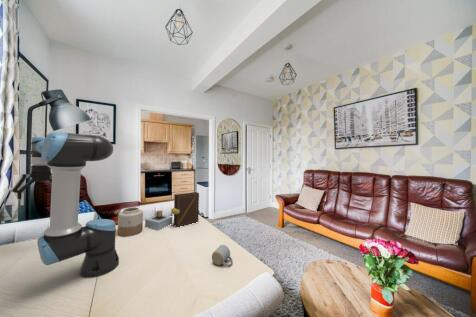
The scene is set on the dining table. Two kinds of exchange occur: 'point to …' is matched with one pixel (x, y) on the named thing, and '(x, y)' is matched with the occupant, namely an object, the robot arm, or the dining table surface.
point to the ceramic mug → (221, 255)
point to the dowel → (158, 214)
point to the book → (186, 208)
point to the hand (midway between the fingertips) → (40, 202)
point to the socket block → (158, 222)
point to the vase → (130, 222)
